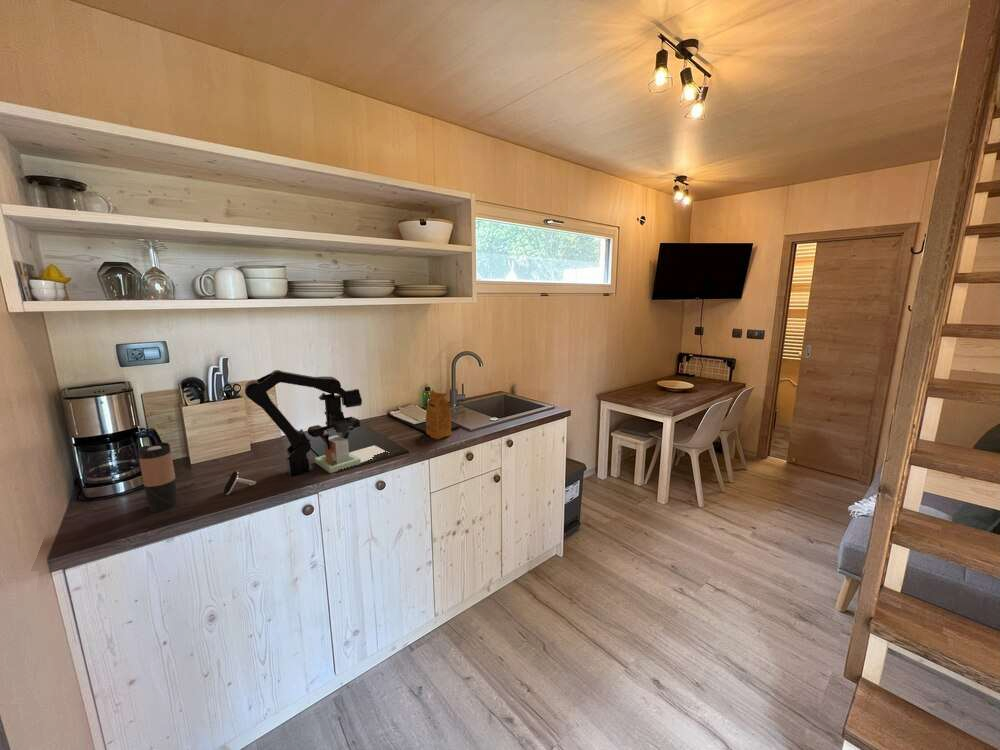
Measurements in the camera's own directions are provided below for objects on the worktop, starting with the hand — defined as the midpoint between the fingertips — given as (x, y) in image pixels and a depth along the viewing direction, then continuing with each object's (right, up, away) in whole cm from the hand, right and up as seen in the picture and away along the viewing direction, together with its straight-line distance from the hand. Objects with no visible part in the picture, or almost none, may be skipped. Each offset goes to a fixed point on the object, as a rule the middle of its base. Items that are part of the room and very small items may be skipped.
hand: (336, 447), depth 158 cm
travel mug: (-42, -13, -31) cm, 54 cm away
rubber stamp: (-26, -13, -21) cm, 36 cm away
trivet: (+9, -5, +10) cm, 15 cm away
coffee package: (+35, -1, +34) cm, 49 cm away
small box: (0, -7, +1) cm, 7 cm away
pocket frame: (0, -7, +1) cm, 7 cm away
